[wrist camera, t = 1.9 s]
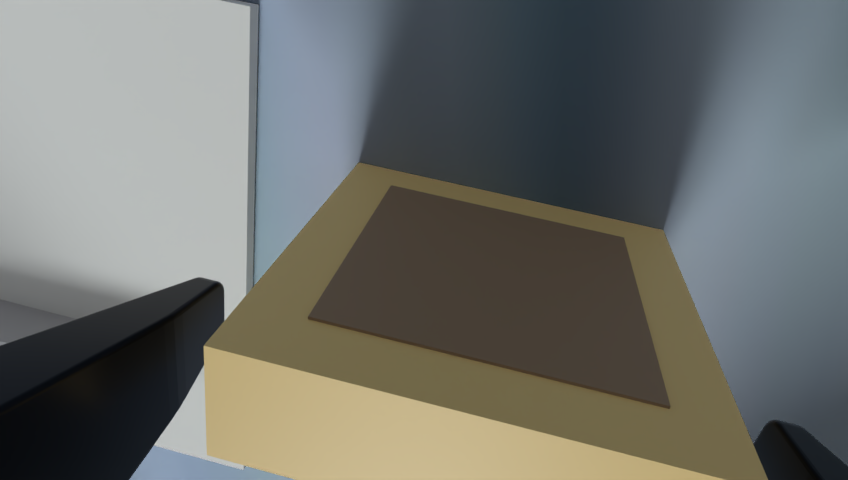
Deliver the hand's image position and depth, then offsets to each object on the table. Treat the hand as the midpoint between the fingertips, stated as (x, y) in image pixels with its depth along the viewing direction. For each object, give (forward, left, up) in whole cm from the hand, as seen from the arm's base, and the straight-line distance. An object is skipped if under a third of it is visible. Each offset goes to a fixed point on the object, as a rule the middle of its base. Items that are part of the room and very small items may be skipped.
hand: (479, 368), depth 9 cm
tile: (0, 0, -5) cm, 5 cm away
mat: (+13, +3, -5) cm, 14 cm away
